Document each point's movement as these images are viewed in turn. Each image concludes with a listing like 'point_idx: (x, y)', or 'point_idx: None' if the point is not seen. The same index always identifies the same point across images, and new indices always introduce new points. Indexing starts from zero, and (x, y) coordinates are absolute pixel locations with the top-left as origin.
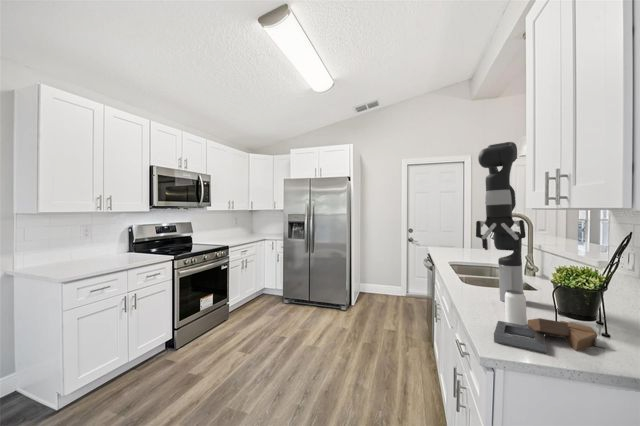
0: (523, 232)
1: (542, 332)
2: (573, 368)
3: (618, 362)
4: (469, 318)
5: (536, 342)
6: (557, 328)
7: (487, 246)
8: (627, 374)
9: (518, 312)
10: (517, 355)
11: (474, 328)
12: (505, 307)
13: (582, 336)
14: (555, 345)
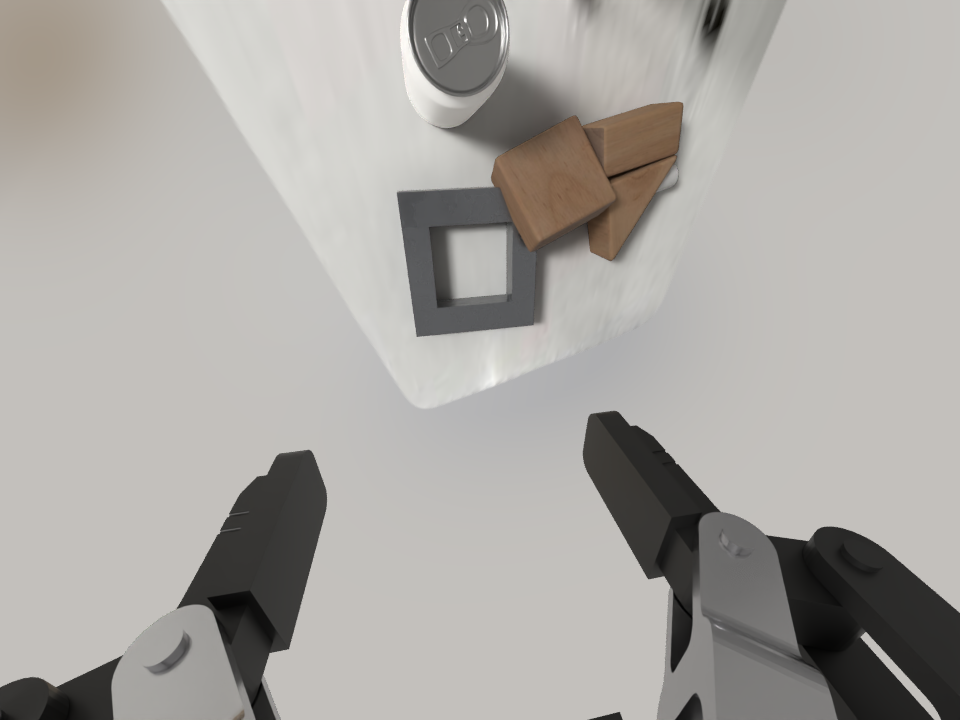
0: (874, 706)
1: None
2: (566, 354)
3: (655, 264)
4: (270, 143)
5: (515, 322)
6: (578, 224)
7: (302, 489)
8: (647, 317)
9: (465, 118)
10: (474, 366)
11: (336, 256)
12: (406, 82)
13: (629, 224)
14: (551, 245)
